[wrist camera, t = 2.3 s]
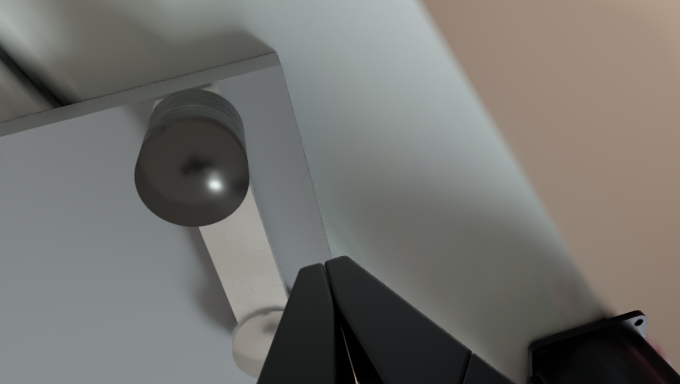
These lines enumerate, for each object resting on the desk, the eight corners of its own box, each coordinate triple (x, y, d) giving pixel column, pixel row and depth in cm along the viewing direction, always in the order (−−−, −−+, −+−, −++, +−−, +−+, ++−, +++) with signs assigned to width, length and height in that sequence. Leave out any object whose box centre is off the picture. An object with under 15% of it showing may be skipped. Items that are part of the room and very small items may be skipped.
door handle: (319, 340, 23) (337, 422, 19) (244, 362, 22) (249, 449, 19) (234, 65, 16) (238, 112, 13) (130, 92, 16) (107, 147, 13)
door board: (276, 51, 18) (288, 83, 15) (378, 440, 30) (397, 504, 26) (-176, 168, 17) (-262, 226, 14) (107, 525, 28) (94, 602, 25)
